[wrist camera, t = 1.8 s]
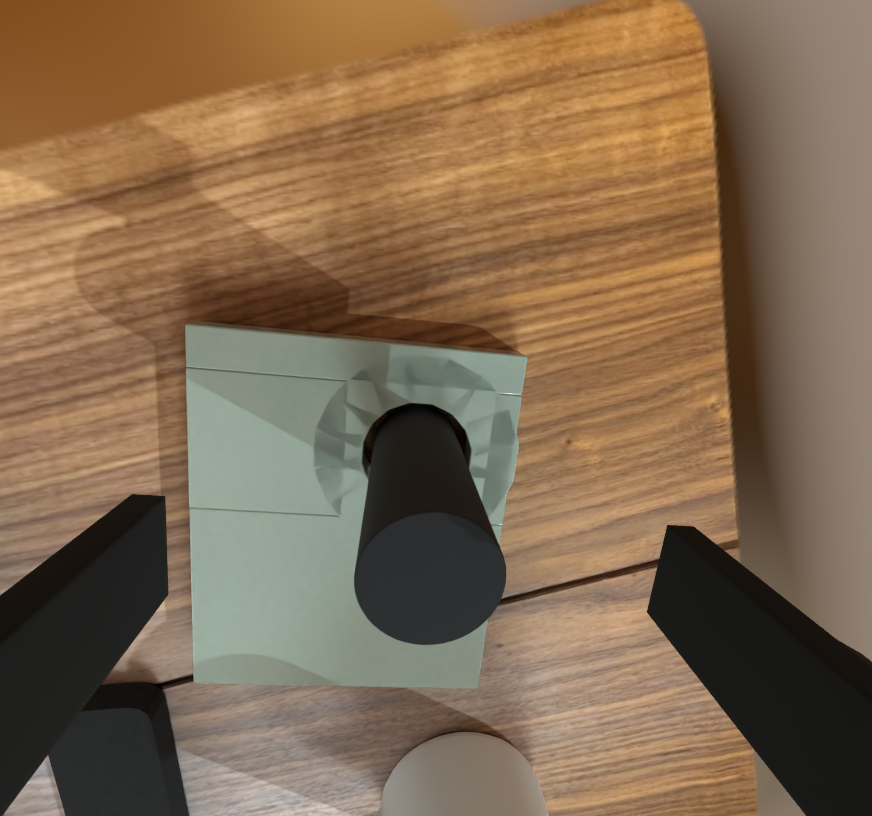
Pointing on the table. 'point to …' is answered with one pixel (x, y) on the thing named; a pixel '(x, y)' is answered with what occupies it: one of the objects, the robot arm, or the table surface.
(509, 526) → the table surface
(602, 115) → the table surface
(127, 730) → the remote control
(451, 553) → the plug
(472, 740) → the mug
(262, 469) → the drain slab
